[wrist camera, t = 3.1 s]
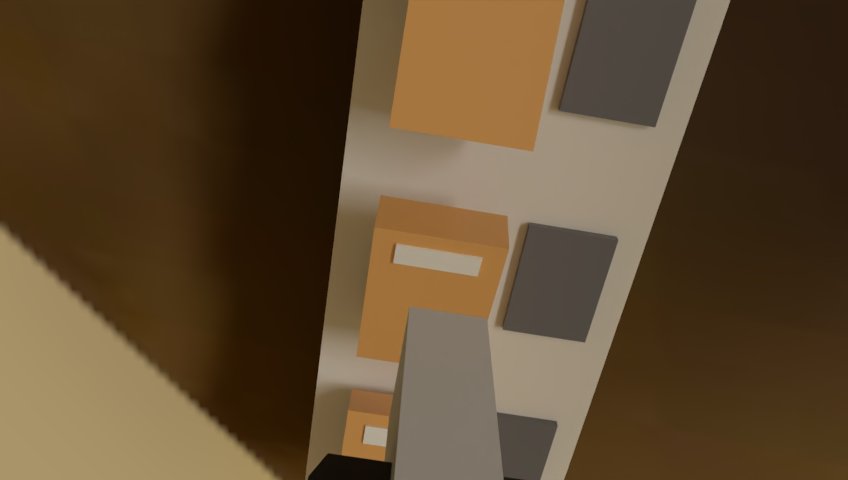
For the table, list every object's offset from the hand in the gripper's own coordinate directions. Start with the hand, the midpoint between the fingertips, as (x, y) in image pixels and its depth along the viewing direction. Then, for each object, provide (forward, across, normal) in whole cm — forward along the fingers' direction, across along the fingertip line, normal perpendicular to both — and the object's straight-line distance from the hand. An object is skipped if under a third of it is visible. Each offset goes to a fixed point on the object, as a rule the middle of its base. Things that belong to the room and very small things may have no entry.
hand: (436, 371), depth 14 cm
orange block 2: (+6, 0, -1) cm, 6 cm away
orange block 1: (+6, 0, +6) cm, 8 cm away
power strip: (+11, +2, +2) cm, 11 cm away
